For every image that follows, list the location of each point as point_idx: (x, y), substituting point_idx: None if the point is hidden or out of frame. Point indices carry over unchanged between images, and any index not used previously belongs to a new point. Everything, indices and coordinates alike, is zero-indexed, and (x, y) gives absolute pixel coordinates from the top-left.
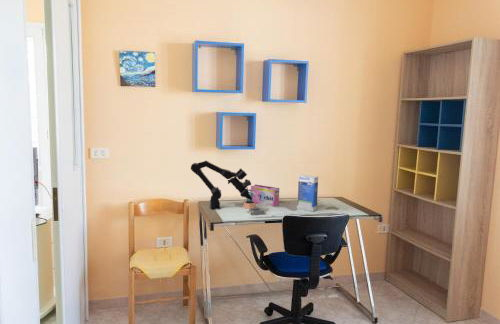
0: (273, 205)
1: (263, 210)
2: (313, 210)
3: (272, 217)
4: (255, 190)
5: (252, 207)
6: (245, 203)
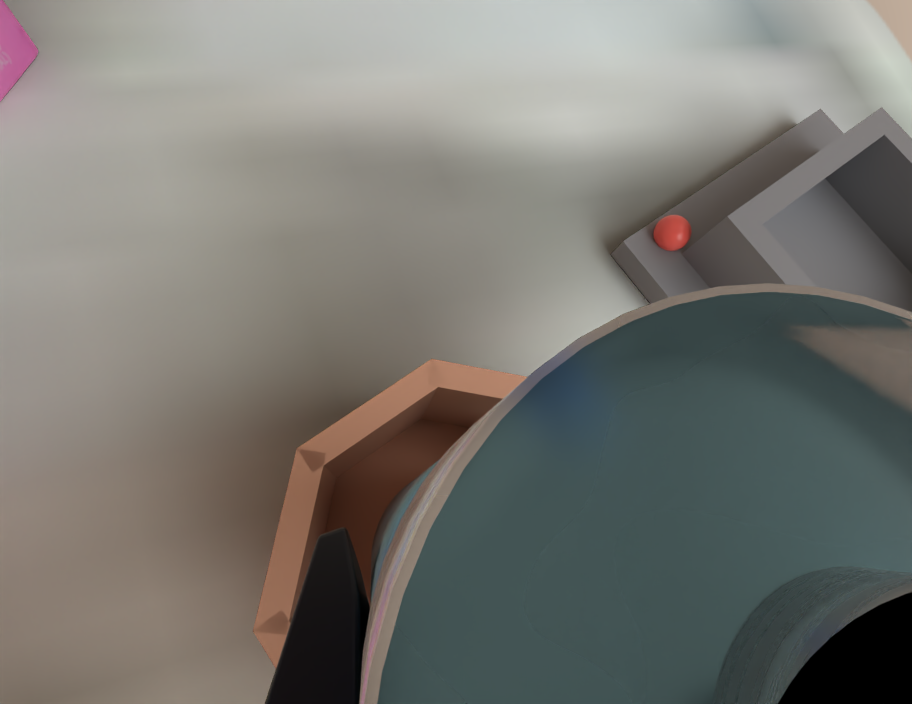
0: (21, 39)
1: (876, 112)
2: None
3: (832, 38)
4: None
5: None
6: None
